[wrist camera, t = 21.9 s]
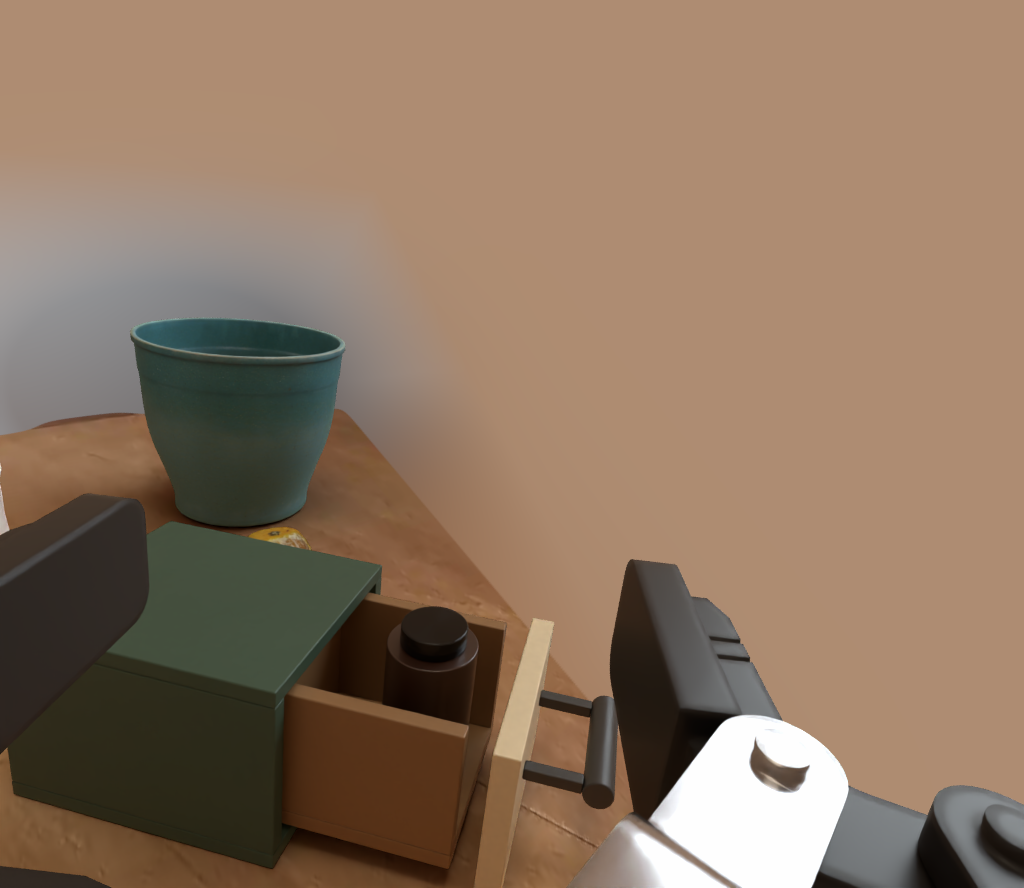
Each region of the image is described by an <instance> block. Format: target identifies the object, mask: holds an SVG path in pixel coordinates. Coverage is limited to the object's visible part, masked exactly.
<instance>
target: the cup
mask: <svg viewBox="0 0 1024 888" xmlns="http://www.w3.org/2000/svg"><path fill="white" fill-rule="evenodd" d="M0 473H1V464H0ZM7 531H9V527H8V523H7V519H6V515H5V512H4V505H3V497H2V491H1V485H0V535H1V534H3V533H5V532H7Z"/></svg>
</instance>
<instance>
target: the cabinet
mask: <svg viewBox="0 0 1024 888" xmlns="http://www.w3.org/2000/svg"><path fill="white" fill-rule="evenodd" d="M146 537H147V553H148V569H149V594H148V599H147V603H146V606H145V608H144V610H143V613H142V614H141V616H140V618H139V619H138V621H137V622H136V623H135V624H134V625H133V626H132V627H131V628H130V629H129V630H128V631H127V632H126V633H125V634H124V635H123V636H122V637H121V638H120V639H119V640H118V641H117V642H116V643H115V644H114V645H113V646H112V647H111V648H109V649H108V650H107V651H106V652H105V653H104V654H103V655H102V656H101V657H100V658H99V659H98V660H97V661H96V662H95V663H94V664H93V665H92V666H91V667H90V668H89V669H88V670H87V671H86V672H85V673H84V674H83V675H82V676H81V677H80V678H79V679H77V680H76V681H75V682H74V683H73V684H72V685H71V686H70V687H69V688H68V689H67V690H66V691H65V692H64V693H63V694H62V695H61V696H60V697H59V698H58V699H57V700H56V701H55V702H54V703H53V704H52V705H51V706H50V707H49V708H48V709H47V710H45V711H44V712H43V713H42V714H41V715H40V716H39V717H38V718H37V719H36V720H35V721H34V722H33V723H32V724H31V725H30V726H29V727H28V728H27V729H26V730H25V731H24V732H23V733H22V734H21V735H20V736H19V737H18V738H17V739H16V740H15V741H13V742H12V743H11V744H10V745H9V746H8V754H9V761H10V768H11V776H12V780H13V781H12V785H13V792H14V794H16V795H20V796H23V797H27V798H30V799H34V800H37V801H40V802H44V803H47V804H51V805H54V806H58V807H61V808H65V809H68V810H71V811H75V812H78V813H82V814H85V815H89V816H92V817H96V818H99V819H103V820H106V821H109V822H113V823H116V824H120V825H123V826H127V827H130V828H134V829H137V830H140V831H144V832H147V833H151V834H154V835H158V836H161V837H165V838H168V839H172V840H175V841H178V842H182V843H185V844H189V845H192V846H196V847H199V848H203V849H206V850H210V851H213V852H216V853H220V854H223V855H227V856H230V857H234V858H237V859H241V860H244V861H247V862H251V863H254V864H258V865H261V866H265V867H268V868H273V867H274V865H275V864H276V862H277V860H278V859H279V857H280V855H281V854H282V852H283V850H284V849H285V847H286V845H287V844H288V842H289V840H290V839H291V837H292V835H293V834H294V832H295V830H296V829H297V827H295V826H291V825H288V824H284V823H282V784H283V734H284V697H285V695H286V694H287V693H288V692H289V690H290V689H291V688H292V687H293V685H294V684H295V683H296V682H297V680H298V679H299V678H300V677H301V675H302V674H303V673H304V672H305V671H306V669H307V668H308V667H309V666H310V664H311V663H312V662H313V661H314V659H315V658H316V657H317V656H318V654H319V653H320V652H321V651H322V649H323V648H324V647H325V646H326V645H327V643H328V642H329V641H330V640H331V638H332V637H333V636H334V635H335V633H336V632H337V631H338V630H339V628H340V627H341V626H342V625H343V623H344V622H345V621H346V620H347V619H348V617H349V616H350V615H351V614H352V612H353V611H354V610H355V609H356V607H357V606H358V605H359V604H360V602H361V601H362V600H363V599H364V597H365V596H366V595H367V594H368V593H374V594H378V595H380V590H381V573H382V566H381V565H378V564H373V563H368V562H363V561H359V560H354V559H349V558H344V557H340V556H335V555H330V554H325V553H321V552H316V551H311V550H306V549H302V548H297V547H292V546H287V545H283V544H278V543H273V542H268V541H264V540H259V539H254V538H250V537H245V536H240V535H235V534H231V533H226V532H221V531H216V530H212V529H207V528H202V527H197V526H193V525H188V524H183V523H178V522H174V521H170V522H168V523H166V524H165V525H163V526H161V527H159V528H158V529H156V530H154V531H152V532H151V533H149V534H147V535H146Z"/></svg>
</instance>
